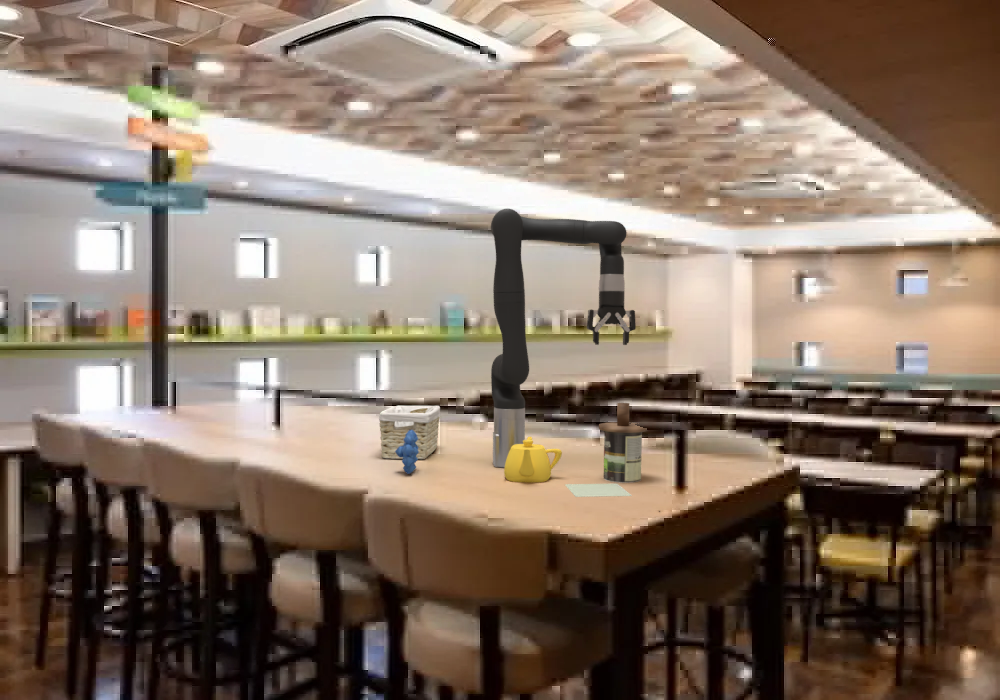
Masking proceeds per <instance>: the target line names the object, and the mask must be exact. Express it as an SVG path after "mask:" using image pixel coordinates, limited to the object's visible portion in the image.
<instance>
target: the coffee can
mask: <svg viewBox="0 0 1000 700" xmlns="http://www.w3.org/2000/svg"><path fill="white" fill-rule="evenodd" d="M603 437H604V438H603V440H604V441H603V480H605V481H607V482H613V483H618V484H619V483H620V484H621V483H622V484H625V483H626V484H627V483H628V484H629V483H637V482H640V481H642V450H643V449H642V448H643V447H642V446H643V432H637V433H619V432H608V431H603Z"/></svg>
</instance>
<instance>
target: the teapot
mask: <svg viewBox="0 0 1000 700" xmlns="http://www.w3.org/2000/svg"><path fill="white" fill-rule="evenodd" d="M550 453H551V454H552V453H553V454H554V458H553V460H552V462H550V458H549V455H548V454H550ZM562 454H563V451H562V450H561V449H559V448H547V449H546V448H545V446H544V445H542V444H537V443H534V440H533V437H532V436H528V437H527V439H525V440H523V444H515V445H513V446H512V447H511V449H510V451H509V453H508V456H507V459H506V462H505V467H503V468H504V470H503V471H504V472H503V474H504V476H505V479H506V481H509V482H514V483H534V484H535V483H544V482H545V483H546V482H547V481H549V480H550V477H552V476H551V475H552V469H553V468H554V467H555V466H556V465H557V464H558V462H559V461H560V460H561V457H562Z"/></svg>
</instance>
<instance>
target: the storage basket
mask: <svg viewBox="0 0 1000 700" xmlns="http://www.w3.org/2000/svg"><path fill="white" fill-rule="evenodd" d="M440 417H441V407H440V405H396V406H391V407H388V408H387V409H384V410H382V411H381V412H380V413H379V418H378V421H379V429H380V430H379V431H380V442H381V443H380V447H381V448H380V451H381V458H383V459H391V460H392V459H393V460H394V459H397V460H403V457H399V456H398V455H397V454H396V452H395V451H396V450H397V449H398V447H400V446H403V445H404V443H405V442H404V440H403V439H404V438H405V437H406V436H405V435H406V433H407V432H408V431H409V430H413V431H414V432H415V433H416V434H417V437H418V440H417V441H416V442H415V443H416V445H417V446H418V451H419V453H418V454H417V455H416V457H417V458H418V460H425V459H427V457H429V456H430V455H431V454H432V453H433V452H434V451H436V449H437V446H438V438H439V424H440V419H441V418H440Z"/></svg>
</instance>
